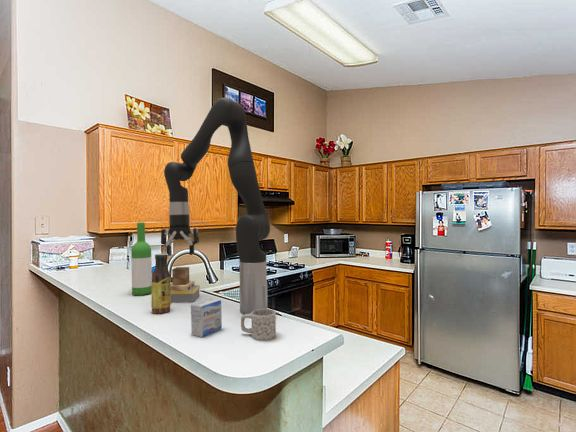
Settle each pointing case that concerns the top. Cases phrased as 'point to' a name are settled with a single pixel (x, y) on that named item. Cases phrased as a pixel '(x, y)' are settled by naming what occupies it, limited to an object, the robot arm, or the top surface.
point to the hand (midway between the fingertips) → (180, 255)
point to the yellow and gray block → (186, 294)
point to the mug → (261, 324)
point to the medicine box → (206, 317)
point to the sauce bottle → (161, 285)
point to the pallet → (182, 286)
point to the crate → (180, 275)
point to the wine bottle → (141, 264)
